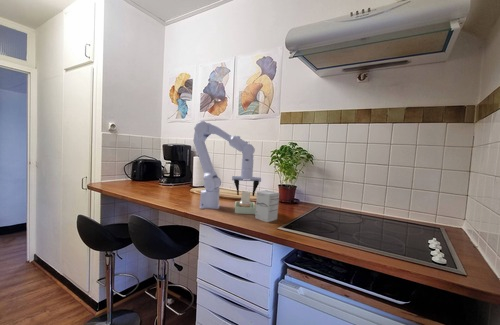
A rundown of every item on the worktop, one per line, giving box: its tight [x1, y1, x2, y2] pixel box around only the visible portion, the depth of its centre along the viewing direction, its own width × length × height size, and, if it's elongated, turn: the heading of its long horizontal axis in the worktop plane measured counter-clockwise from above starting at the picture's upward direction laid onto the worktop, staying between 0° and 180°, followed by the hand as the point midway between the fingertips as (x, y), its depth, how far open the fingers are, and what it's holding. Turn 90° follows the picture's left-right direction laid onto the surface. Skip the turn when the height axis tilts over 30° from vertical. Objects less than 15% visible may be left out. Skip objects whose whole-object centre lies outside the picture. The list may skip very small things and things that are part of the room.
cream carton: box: [240, 190, 251, 202], centre depth 117 cm, size 4×4×5 cm
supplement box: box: [254, 189, 280, 223], centre depth 104 cm, size 7×7×13 cm
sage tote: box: [234, 200, 256, 215], centre depth 117 cm, size 10×12×4 cm
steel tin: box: [239, 199, 252, 207], centre depth 118 cm, size 6×6×4 cm
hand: (245, 195), depth 117 cm, fingers open, 7 cm apart
